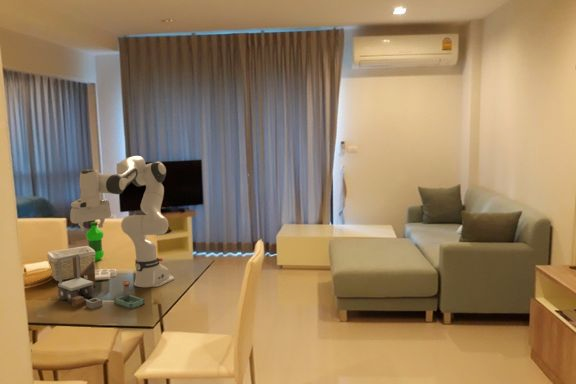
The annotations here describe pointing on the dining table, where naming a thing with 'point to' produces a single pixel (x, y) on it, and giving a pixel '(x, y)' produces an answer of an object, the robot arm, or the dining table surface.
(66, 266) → the storage basket
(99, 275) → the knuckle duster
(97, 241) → the plastic bottle
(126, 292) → the pin
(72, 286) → the trolley
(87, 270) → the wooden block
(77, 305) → the block
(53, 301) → the dining table surface
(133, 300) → the tray
